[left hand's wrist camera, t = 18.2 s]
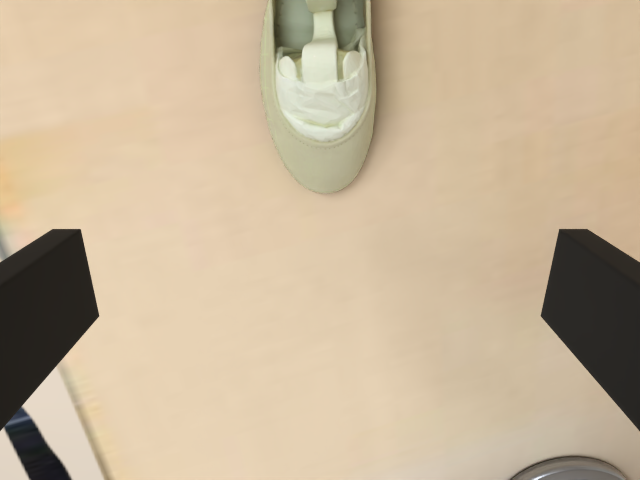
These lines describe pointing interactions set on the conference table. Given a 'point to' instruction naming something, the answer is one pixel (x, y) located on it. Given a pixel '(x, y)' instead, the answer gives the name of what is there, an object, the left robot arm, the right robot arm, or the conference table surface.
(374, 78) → the ballet flat
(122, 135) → the conference table surface
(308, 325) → the conference table surface
